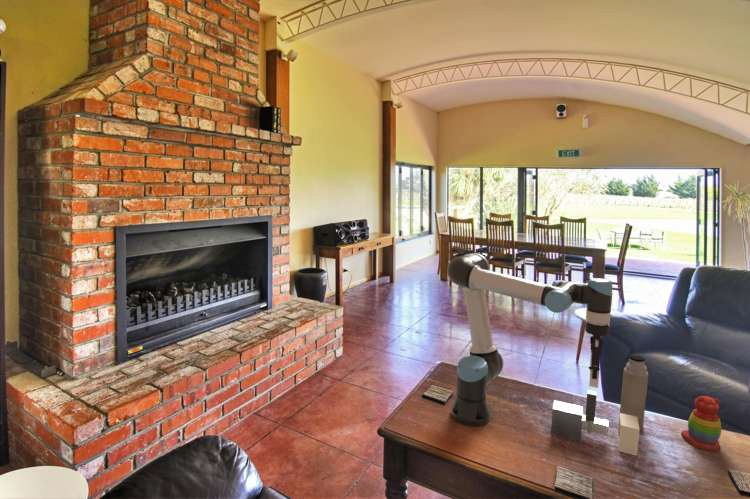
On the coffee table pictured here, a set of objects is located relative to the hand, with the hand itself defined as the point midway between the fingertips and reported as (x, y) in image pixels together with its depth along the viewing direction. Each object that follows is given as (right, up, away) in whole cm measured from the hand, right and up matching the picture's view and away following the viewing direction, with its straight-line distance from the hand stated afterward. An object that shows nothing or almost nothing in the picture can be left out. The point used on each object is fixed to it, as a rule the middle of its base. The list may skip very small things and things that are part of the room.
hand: (593, 378), depth 150 cm
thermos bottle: (+20, -22, +11) cm, 32 cm away
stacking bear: (+39, -23, 0) cm, 46 cm away
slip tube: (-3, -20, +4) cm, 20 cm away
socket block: (+11, -23, -2) cm, 26 cm away
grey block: (-7, -22, +7) cm, 24 cm away
